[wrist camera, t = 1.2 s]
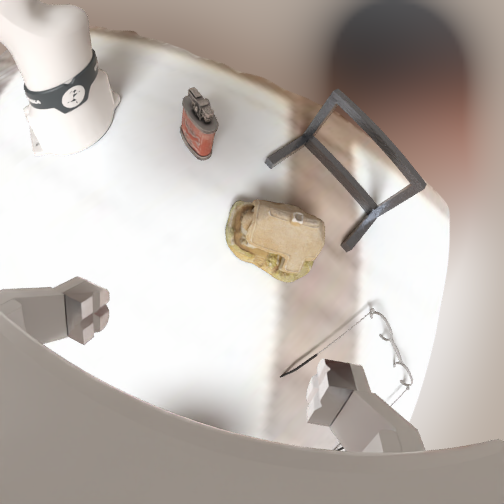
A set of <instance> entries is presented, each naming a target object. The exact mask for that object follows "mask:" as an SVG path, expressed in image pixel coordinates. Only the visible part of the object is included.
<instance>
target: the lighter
mask: <svg viewBox="0 0 504 504" xmlns="http://www.w3.org/2000/svg"><path fill="white" fill-rule="evenodd" d="M182 105H183V115H182V125H181V127H180V133H181V136H182V139H183V141H184V143H185V145H186V146H187V147H188V149H189V150H190V152H191V153H192V154H193V155H194V156H195V157H196V158H197V159H199V160H207V159H209V158H210V157H211V154H212V149H211V148H212V144H213V140H214V136H215V132H216V131H217V129H218V122H217V119H216V117H215V115H214V112H213V110H212V109H211V107H210V102H209V100H208V99H204V98H203V97H202V96H201V94H200V93H199V92H198V90H197V89H196V88H194V87H193V88H190V89H189V90H188V96H185V97H184V98H183V102H182Z"/></svg>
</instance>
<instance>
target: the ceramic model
mask: <svg viewBox="0 0 504 504" xmlns="http://www.w3.org/2000/svg"><path fill="white" fill-rule="evenodd" d="M225 234H226V241H227V244H228V246H229V248H230V249H231V251H232V252H233V253H234V254H235V255H236V256H237V257H238V258H239V259H241V260H243V261H245V262H249V263H253V264H255V265H256V266H258V267H259V268H261V269H262V270H264V271H266V272H267V273H269V274H270V275H272V276H273V277H274V278H276V279H278V280H281V281H284V282H293V281H295V280H297V279H299V278H300V277H303V276H305V275H306V274H307V273H308V272H309V271H310V269H311V267H312V265H313V260H315V259H316V257H317V256H318V254H319V253H320V251H321V249H322V247H323V246H324V239H325V226H324V222H323V221H322V220H321V219H319V218H317V217H315V216H313V215H310V214H308V213H306V212H304V211H302V210H301V209H300V208H298V207H296V206H293V205H291V204H284V203H275V202H270V201H266V200H259V199H256V200H254V201H253V202H244V201H241V200H240V201H237V202H235V204H234V205H233V206H232V208H231V210H230V215H229V218H228V222H227V225H226V232H225Z"/></svg>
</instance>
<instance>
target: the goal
mask: <svg viewBox="0 0 504 504" xmlns="http://www.w3.org/2000/svg"><path fill="white" fill-rule="evenodd" d="M337 105H339V106H340V107H341V108H342V109H343V110H344V111H345V112H346V113H347V114H348V115H349V116H350V117H351V118H352V119H353V120H355V122H356V123H357V124H358V125H359V126H360V127H361V128H362V129H363V130H364V131H365V132H366V133H367V134H368V135H369V136H370V137H371V138H372V139H373V140H374V141H375V142H376V143H377V145H378V146H379V147H380V148H381V149H382V150H383V151H384V152H385V153H386V155H387V156H388V157H389V158H390V159H391V160H392V162H393V163H394V164H395V165H396V166H397V167H398V169H399V170H400V171H401V172H402V174H403V175H404V176H405V177H406V179H407V180H408V181H409V182H410V184H409V185H408V186H406V187H405V188H403V189H402V190H400V191H399V192H397V193H396V194H394V195H393V196H391V197H390V198H388V199H387V200H385V201H384V202H382V203H381V204H379V205H377V204H376V203H375V202H374V201H373V200H372V198H371V197H370V196H369V195H368V194H367V193H366V191H365V190H364V189H363V188H362V187H361V186H360V184H359V183H358V182H357V181H356V180H355V179H354V178H353V177H352V175H351V174H350V173H349V172H348V171H347V170H346V169H345V168H344V167H343V166H342V165H341V163H340V162H339V161H338V160H337V159H336V158H335V157H334V156H333V155H332V154H331V153H330V152H329V151H328V150H327V149H326V148H325V147H324V146H323V145H322V144H321V143H320V142H319V141H318V140H317V139H316V138H315V137H314V136H315V135H316V133H317V132H318V131H319V129H320V128H321V127H322V125H323V124H324V123H325V121H326V120H327V119H328V117H329V116H330V115H331V113H332V112H333V111H334V109H335V108H336V106H337ZM304 146H306V147H307V148H308V149H309V150H310V151H311V152H312V153H313V154H314V155H315V156H316V157H317V158H318V159H319V160H320V161H321V162H322V163H323V164H324V166H325V167H326V168H327V169H328V170H329V171H330V172H331V173H332V174H333V175H334V176H335V177H336V178H337V179H338V181H339V182H340V183H341V184H342V185H343V186H344V187H345V188H346V189H347V191H348V192H349V193H350V194H351V195H352V196H353V197H354V199H355V200H356V201H357V202H358V203H359V204H360V206H361V207H362V208H363V209H364V210H365V212H366V213H367V215H366V216H365V218H364V219H363V220H362V221H361V222H360V224H359V225H358V226H357V227H356V228H355V229H354V231H353V232H352V233H351V234H350V235H349V236H348V238H347V239H346V240H345V241H344V242H343V243H342V245H341V246H342V247H343V249H344V250H345V251H346V252H348V251H350V250H352V249H353V247H354V246H355V245H356V244H357V242H358V241H359V240H360V239H361V237H362V236H363V235H364V234H365V232H366V231H367V230H368V229H369V227H370V226H371V225H372V224H373V222H374V221H375V220H376V218H377V217H379V216H380V215H382V214H384V213H385V212H387V211H389V210H390V209H392V208H394V207H395V206H397V205H399V204H400V203H402V202H404V201H405V200H407V199H409V198H410V197H412V196H414V195H415V194H417V193H418V192H420V191H422V190H423V189H424V188H425V186H426V185H427V184H426V183H425V182H424V180H423V179H422V178H421V176H420V175H419V174H418V172H417V171H416V170H415V169H414V168H413V166H412V165H411V164H410V163H409V161H408V160H407V159H406V158H405V156H404V155H403V154H402V153H401V152H400V151H399V150H398V148H397V147H396V146H395V145H394V144H393V143H392V141H391V140H390V139H389V138H388V137H387V136H386V135H385V134H384V133H383V132H382V130H380V128H379V127H378V126H377V125H376V124H375V123H374V122H373V121H372V120H371V119H370V118H369V117H368V116H367V115H366V114H365V113H364V112H363V111H362V110H361V109H360V108H359V107H358V106H357V105H356V104H355V103H354V102H352V101H351V100H350V99H349V98H348V97H347V96H346V95H345V94H344V93H343V92H341V91H340V90H339V89H336V90H334V91H333V92H332V94H331V95H330V96H329V98H328V99H327V101H326V102H325V104H324V105H323V106H322V108H321V109H320V111H319V112H318V114H317V115H316V117H315V118H314V119H313V121H312V122H311V124H310V125H309V127H308V128H307V130H306V131H305V133H304V134H303V135H302V136H301V137H299V138H298V139H296V140H294V141H293V142H291V143H290V144H288V145H287V146H285V147H283V148H282V149H280V150H279V151H277V152H276V153H274V154H273V155H271V156H270V157H268V158H267V160H266V162H265V163H266V164H267V165H268V166H269V167H270V168H271V169H272V168H273V167H275V166H276V165H277V164H279V163H280V162H282V161H283V160H285V159H286V158H288V157H289V156H290V155H292V154H293V153H295V152H296V151H298V150H299V149H301V148H302V147H304Z"/></svg>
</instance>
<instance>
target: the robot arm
mask: <svg viewBox="0 0 504 504" xmlns="http://www.w3.org/2000/svg"><path fill="white" fill-rule="evenodd" d="M0 42H1V43H2V44H3V45H5V46H6V47H7V49H8V50H9V51H10V53H11V54H12V56H13V58H14V60H15V62H16V64H17V66H18V68H19V71H20V73H21V75H22V78H23V80H24V90H25V94H26V97H27V99H28V100H29V105H28V106H26V107H25V108H24V114H25V116H26V119H27V121H28V122H29V124H30V133H31V141H32V148H33V152H34V155H35V156H43V155H47V154H52V155H57V156H67V155H72V154H75V153H78V152H81V151H83V150H85V149H87V148H88V147H90V146H91V145H93V144H94V143H96V142H97V141H98V140H99V139H100V138H101V137H102V136H103V135H104V134H105V133H106V131H107V130H108V128H109V127H110V125H111V122H112V119H113V114H114V110H115V108H116V107H117V105H118V104H119V102H120V100H121V99H120V96H119V94H117V93H116V92H114V91H112V90H111V88H110V84H109V79H108V75H107V73H106V72H104V71H102V70H101V69H98V61H97V57H96V54H95V51H94V50H93V49H92V46H91V38H90V30H89V20H88V16H87V14H86V12H85V11H84V10H83V9H81V8H80V7H78V6H74V5H68V4H59V5H58V4H57V5H50V4H45V3H42V2H41V1H40V0H0ZM108 302H109V292H108V290H107V289H105V288H103V287H101V286H98V285H96V284H94V283H92V282H90V281H88V280H86V279H83V278H81V277H75V278H73V279H71V280H69V281H67V282H65V283H63V284H61V285H59V286H57V287H55V288H51V287H42V288H21V289H2V290H0V504H504V441H502V440H499V439H497V440H491V441H487V442H482V443H477V444H472V445H467V446H461V447H454V448H447V449H439V450H429V451H425V448H424V445H423V442H422V440H421V437H420V435H419V432H418V430H417V429H416V428H415V427H414V426H413V425H411V424H410V423H409V422H408V421H407V420H405V419H404V418H403V417H402V416H401V415H400V414H398V413H397V412H396V411H395V410H394V409H393V408H391V407H390V406H389V405H388V404H387V403H386V402H384V401H383V400H382V399H381V398H380V397H379V396H377V395H376V394H375V393H371V390H370V387H369V384H368V381H367V378H366V375H365V372H364V369H363V367H362V366H361V365H358V364H351V363H344V362H339V361H333V360H328V359H321V361H320V362H319V364H318V366H317V374H316V375H314V376H313V377H312V378H311V381H310V383H309V385H308V389H307V394H306V401H307V402H308V403H309V406H308V408H307V423H311V424H317V425H323V426H329V428H330V429H331V431H332V432H333V434H334V435H335V436H336V438H337V439H338V441H339V442H340V444H341V445H342V446H343V448H344V449H345V451H336V450H326V449H316V448H308V447H301V446H295V445H289V444H283V443H278V442H272V441H268V440H263V439H258V438H254V437H250V436H246V435H242V434H238V433H234V432H230V431H227V430H223V429H220V428H216V427H213V426H210V425H207V424H203V423H200V422H197V421H194V420H191V419H189V418H186V417H183V416H180V415H177V414H175V413H172V412H170V411H167V410H164V409H162V408H159V407H157V406H155V405H152V404H150V403H147V402H145V401H143V400H141V399H138V398H136V397H134V396H132V395H130V394H128V393H125V392H123V391H121V390H119V389H117V388H115V387H113V386H111V385H109V384H107V383H106V382H104V381H102V380H100V379H98V378H96V377H94V376H93V375H91V374H89V373H87V372H86V371H84V370H82V369H80V368H79V367H77V366H75V365H74V364H72V363H70V362H69V361H67V360H66V359H64V358H63V357H61V356H59V355H58V354H56V353H55V352H53V351H52V350H50V349H49V348H47V347H46V346H45V345H43V344H45V343H49V342H52V341H56V340H60V339H63V338H67V337H70V338H72V339H74V340H75V341H77V342H79V343H81V344H83V345H85V344H86V343H87V342H88V341H90V340H91V339H92V338H93V337H94V333H95V332H100V331H102V330H103V329H104V328H105V326H106V324H107V322H108V319H109V309H108V307H107V305H106V304H107V303H108Z"/></svg>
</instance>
